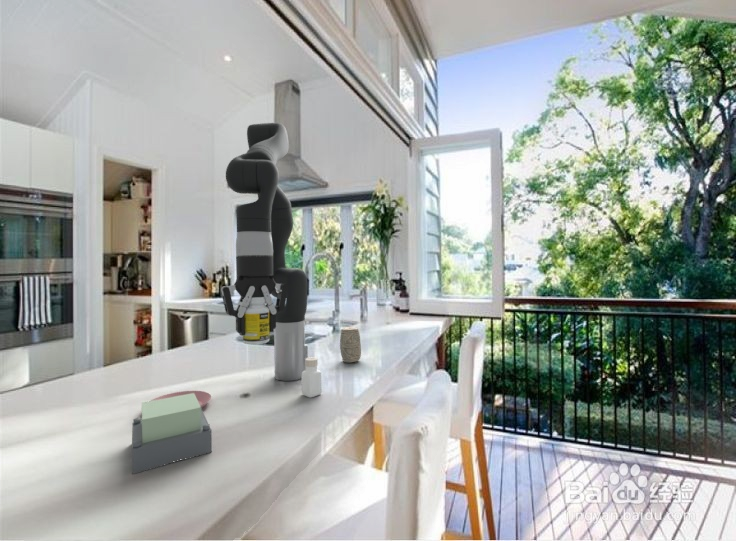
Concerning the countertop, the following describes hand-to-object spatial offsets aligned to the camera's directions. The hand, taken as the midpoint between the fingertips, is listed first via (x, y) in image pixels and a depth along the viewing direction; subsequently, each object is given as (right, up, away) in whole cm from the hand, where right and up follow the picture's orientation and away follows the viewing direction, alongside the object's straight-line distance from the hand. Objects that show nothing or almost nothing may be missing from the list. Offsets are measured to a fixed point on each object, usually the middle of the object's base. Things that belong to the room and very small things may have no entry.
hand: (256, 332), depth 75 cm
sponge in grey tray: (-13, -20, -10) cm, 25 cm away
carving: (+18, -19, +49) cm, 56 cm away
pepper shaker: (+9, -20, +17) cm, 27 cm away
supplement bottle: (0, -2, 0) cm, 2 cm away
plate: (-21, -20, +9) cm, 31 cm away
